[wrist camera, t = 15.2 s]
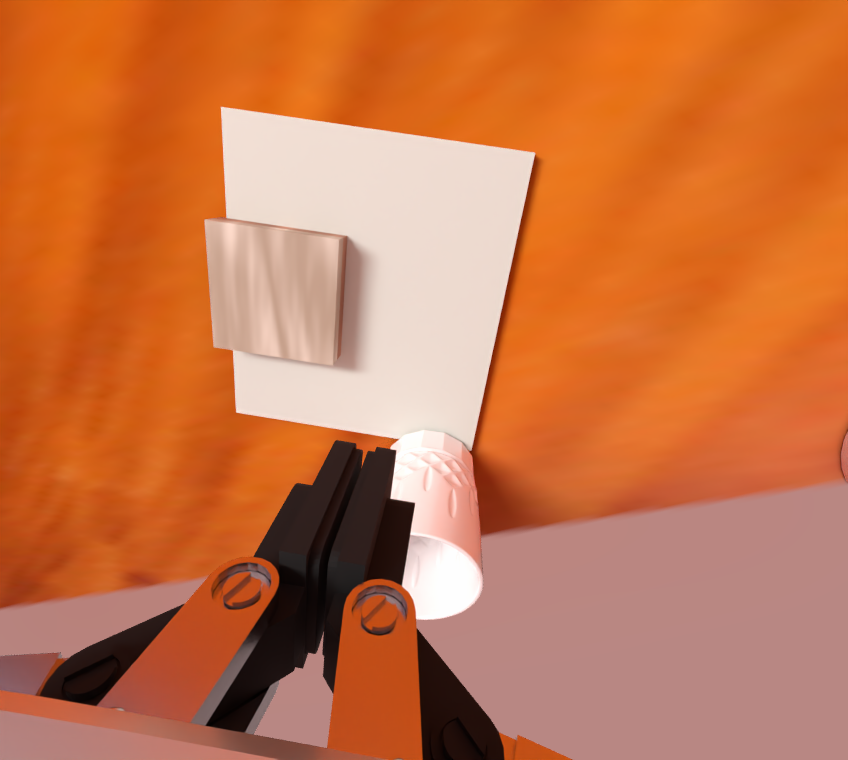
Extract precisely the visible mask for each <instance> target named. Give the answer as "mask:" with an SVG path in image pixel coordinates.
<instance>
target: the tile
mask: <svg viewBox="0 0 848 760" xmlns="http://www.w3.org/2000/svg"><path fill="white" fill-rule="evenodd" d="M205 233H206V247H207V261H208V274H209V288H210V302H211V316H212V329H213V343H214V347H216V348H223V349H229V350H235V351H242V352H248V353H255V354H261V355H267V356H274V357H280V358H287V359H293V360H299V361H306V362H312V363H319V364H325V365H331V366H333V365H334V364H335V362H336V361H337V359H338V358H339V357H340V355H341V342H342V324H343V306H344V288H345V270H346V252H347V236H345V235H338V234H331V233H325V232H318V231H311V230H304V229H298V228H291V227H284V226H277V225H271V224H264V223H257V222H250V221H244V220H237V219H230V218H223V217H220V218H213V219H205Z"/></svg>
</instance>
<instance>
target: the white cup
mask: <svg viewBox="0 0 848 760" xmlns="http://www.w3.org/2000/svg"><path fill="white" fill-rule="evenodd" d="M390 449H392V450H396V460H395V468H394V475H393V483H392V491H391V498H390V499H396V500H402V501H408V502H414V503H415V508H414V515H413V521H412V527H411V533H410V540H409V546H408V552H407V558H406V564H405V571H404V577H403V583H402V587H403V588H404V589H406V590H407V591H408V592H409V594H410V596H411V597H412V599H413V601H414V605H415V610H416V619H420V620H432V619H441V618H446V617H450V616H453V615H456V614H459V613H461V612H463V611H465V610H466V609H468V608H469V607H471V606H472V605H473V604H474V603H475V602H476V601H477V599H478V598H479V596H480V595H481V592H482V589H483V568H482V553H481V535H480V519H479V510H478V499H477V488H476V486H475V481H474V467H473V458H472V455H471V454H470V453H469V451H468V450H467V449H466V447H465V446H464V445H463V443H462V442H461V441H459V440H457V439H455V438H453V437H452V436H450V435H448V434H446V433H443V432H436V431H429V430H422V431H418V432H413V433H409V434H405V435H404V436H403V437H402V438H400V439H399V440H398V441H397V442H395V443H394V444H393V445H392V446H391V448H390Z"/></svg>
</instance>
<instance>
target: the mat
mask: <svg viewBox="0 0 848 760" xmlns="http://www.w3.org/2000/svg"><path fill="white" fill-rule="evenodd" d="M221 114H222V135H223V155H224V175H225V195H226V216H227V218H230V219H237V220H244V221H250V222H257V223H264V224H271V225H277V226H284V227H291V228H298V229H304V230H311V231H318V232H325V233H331V234H338V235H345V236H347V252H346V270H345V288H344V306H343V324H342V342H341V355H340V357H339V358H338V359H337V361H336V362H335V364H334V365H333V366H331V365H325V364H319V363H312V362H306V361H299V360H293V359H287V358H280V357H274V356H267V355H261V354H255V353H248V352H242V351H235V350H233V357H234V377H235V398H236V412H237V413H243V414H249V415H255V416H261V417H267V418H273V419H279V420H286V421H292V422H298V423H304V424H310V425H316V426H322V427H328V428H334V429H340V430H347V431H353V432H359V433H365V434H371V435H377V436H383V437H389V438H395V439H400V438H402V437H403V436H404V435H405V434H409V433H413V432H418V431H422V430H429V431H436V432H443V433H446V434H448V435H450V436H452V437H453V438H455V439H457V440H459V441H461V442H462V443H463V445H464V446H465V447H466V449H467V450H469V451H472V446H473V441H474V437H475V432H476V427H477V423H478V418H479V413H480V409H481V404H482V399H483V395H484V390H485V385H486V381H487V376H488V371H489V366H490V362H491V357H492V352H493V348H494V343H495V338H496V334H497V329H498V324H499V320H500V315H501V310H502V306H503V301H504V296H505V292H506V287H507V282H508V278H509V273H510V268H511V264H512V259H513V254H514V250H515V245H516V240H517V236H518V231H519V226H520V222H521V217H522V212H523V208H524V203H525V198H526V194H527V189H528V184H529V180H530V175H531V170H532V166H533V161H534V156H535V153H533V152H526V151H519V150H512V149H506V148H499V147H492V146H485V145H478V144H471V143H465V142H458V141H451V140H444V139H437V138H430V137H424V136H417V135H410V134H403V133H396V132H389V131H383V130H376V129H369V128H362V127H355V126H348V125H342V124H335V123H328V122H321V121H314V120H307V119H300V118H294V117H287V116H280V115H273V114H266V113H259V112H253V111H246V110H239V109H232V108H225V107H221Z"/></svg>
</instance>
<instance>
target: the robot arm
mask: <svg viewBox="0 0 848 760" xmlns="http://www.w3.org/2000/svg"><path fill="white" fill-rule="evenodd" d="M362 456H363V450H360V449H356V443H350V442H344V441H338V440H336V441H335V442H334V444H333V446H332V448H331V450H330V452H329V454H328V456H327V458H326V460H325V462H324V464H323V466H322V468H321V470H320V471H319V473H318V475H317V477H316V479H315V481H314V483H313V485H306V484H300V483H297V484H295V486H294V487H293V488H292V490H291V492H290V494H289V495H288V497H287V499H286V501H285V502H284V504H283V506H282V508H281V509H280V511H279V513H278V515H277V516H276V518H275V520H274V522H273V523H272V525H271V527H270V529H269V530H268V532H267V534H266V536H265V537H264V539H263V541H262V543H261V544H260V546H259V548H258V550H257V551H256V553H255V555H254V557H241V558H237V559H234V560H231V561H228V562H227V563H225V564H223V565H221V566H219V567H218V568H217V569H216V570H215V571H214V572H213V573H211V574H210V575H209V577H208V578H207V579H206V580H205V581H204V582H203V584H202V585H201V586H200V587H199V588H198V590H196V592H195V593H194V594H193V595H192V596H191V598H190V599H189V600H188V601H187V602H186V603H185V604H183V605H181V606H179V607H176V608H174V609H171V610H169V611H167V612H165V613H163V614H160V615H158V616H156V617H154V618H151V619H149V620H147V621H145V622H142V623H140V624H138V625H136V626H134V627H131V628H129V629H127V630H125V631H122V632H120V633H118V634H116V635H113V636H111V637H109V638H107V639H104V640H102V641H100V642H98V643H96V644H93V645H91V646H89V647H87V648H85V649H83V650H81V651H80V652H78V653H76V654H74V655H73V656H71V657H70V658H62V655H61V652H58V653H40V654H24V655H5V656H0V760H572V759H570V758H568V757H566V756H563V755H561V754H559V753H557V752H555V751H552V750H550V749H548V748H546V747H543V746H541V745H539V744H537V743H535V742H532V741H530V740H528V739H526V738H524V737H521V736H519V735H517V738H516V740H514V739H512V738H510V737H508V736H506V735H503V734H501V733H499V732H498V731H497V729H496V727H495V726H494V724H493V722H492V721H491V719H490V718H489V717H488V716H487V714H486V713H485V712H484V711H483V709H482V708H481V707H480V706H479V705H478V703H477V702H476V701H475V700H474V698H473V697H472V696H471V695H470V693H469V692H468V691H467V690H466V688H465V687H464V686H463V685H462V684H461V682H460V681H459V680H458V679H457V677H456V676H455V675H454V674H453V672H452V671H451V670H450V669H449V667H448V666H447V665H446V664H445V663H444V661H443V660H442V659H441V657H440V656H439V655H438V654H437V653H436V651H435V650H434V649H433V648H432V646H431V645H430V644H429V643H428V641H427V640H426V639H425V638H424V636H423V635H422V634H421V633H420V632H419V630H418V629H417V628H416V610H415V605H414V601H413V599H412V597H411V596H410V594H409V592H408V591H407V590H406V589H404V588H403V587H402V583H403V577H404V571H405V564H406V558H407V552H408V546H409V540H410V533H411V527H412V521H413V515H414V508H415V503H414V502H408V501H402V500H396V499H390V498H391V491H392V483H393V475H394V468H395V460H396V450H392V449H386V448H380V447H377V448H376V450H375V452H372V451H368V452H367V455H366V458H365V460H364V463H363V466H362ZM841 465H842V471H843V473H844V476H845V479H846V481H847V482H848V432H847V434H846V436H845V439H844V442H843V447H842V452H841ZM361 467H362V469H361ZM323 632H324V637H323V655H324V671H323V677H324V678H325V680H326V682H327V684H328V686H329V687H330V689H331V691H332V693H333V703H332V712H331V720H330V729H329V737H328V745H327V748H323V747H317V746H312V745H307V744H301V743H296V742H290V741H285V740H279V739H274V738H269V737H263V736H258V735H254V733H255V731H256V729H257V727H258V725H259V723H260V721H261V719H262V718H263V716H264V714H265V712H266V710H267V708H268V706H269V704H270V702H271V701H272V699H273V697H274V695H275V693H276V690H277V687H278V685H279V680H280V679H281V678H283V677H285V676H286V675H288V674H290V673H291V672H293V671H294V669H295V667H298V668H303V667H304V664H305V661H306V658H307V655H308V653H313V654H316V652H317V650H318V647H319V644H320V641H321V638H322V635H323Z"/></svg>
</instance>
